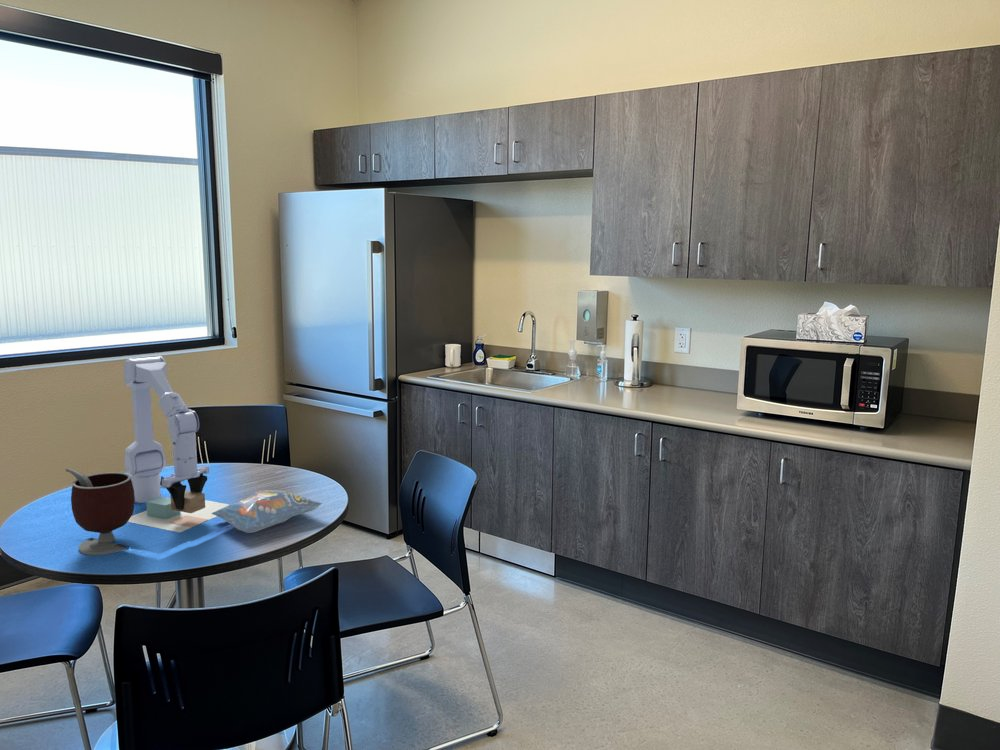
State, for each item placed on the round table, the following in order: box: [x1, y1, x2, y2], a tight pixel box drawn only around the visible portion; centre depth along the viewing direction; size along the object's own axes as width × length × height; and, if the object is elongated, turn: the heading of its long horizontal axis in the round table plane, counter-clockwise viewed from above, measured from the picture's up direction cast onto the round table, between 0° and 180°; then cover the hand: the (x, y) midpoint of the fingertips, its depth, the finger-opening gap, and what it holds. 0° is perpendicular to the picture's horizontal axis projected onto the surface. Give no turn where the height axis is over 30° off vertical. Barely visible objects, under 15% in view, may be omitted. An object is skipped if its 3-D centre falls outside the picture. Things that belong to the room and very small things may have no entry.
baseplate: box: [127, 499, 230, 533], centre depth 203 cm, size 21×22×1 cm
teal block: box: [145, 496, 181, 519], centre depth 202 cm, size 7×5×4 cm
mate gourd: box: [65, 467, 136, 556], centre depth 182 cm, size 16×14×20 cm
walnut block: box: [169, 489, 206, 513], centre depth 196 cm, size 7×5×4 cm
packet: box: [211, 489, 323, 534], centre depth 200 cm, size 17×24×8 cm
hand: (187, 505), depth 197 cm, fingers closed on walnut block, 5 cm apart
